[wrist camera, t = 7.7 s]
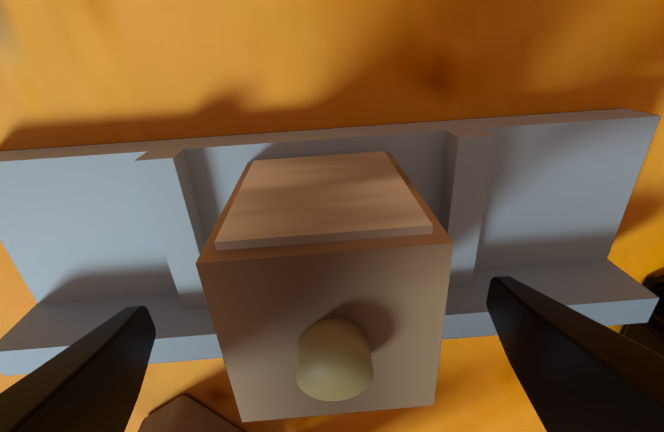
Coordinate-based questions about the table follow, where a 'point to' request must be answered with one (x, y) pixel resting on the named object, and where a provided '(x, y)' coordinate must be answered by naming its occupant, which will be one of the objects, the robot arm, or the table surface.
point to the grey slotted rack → (237, 150)
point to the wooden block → (185, 418)
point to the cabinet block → (327, 287)
